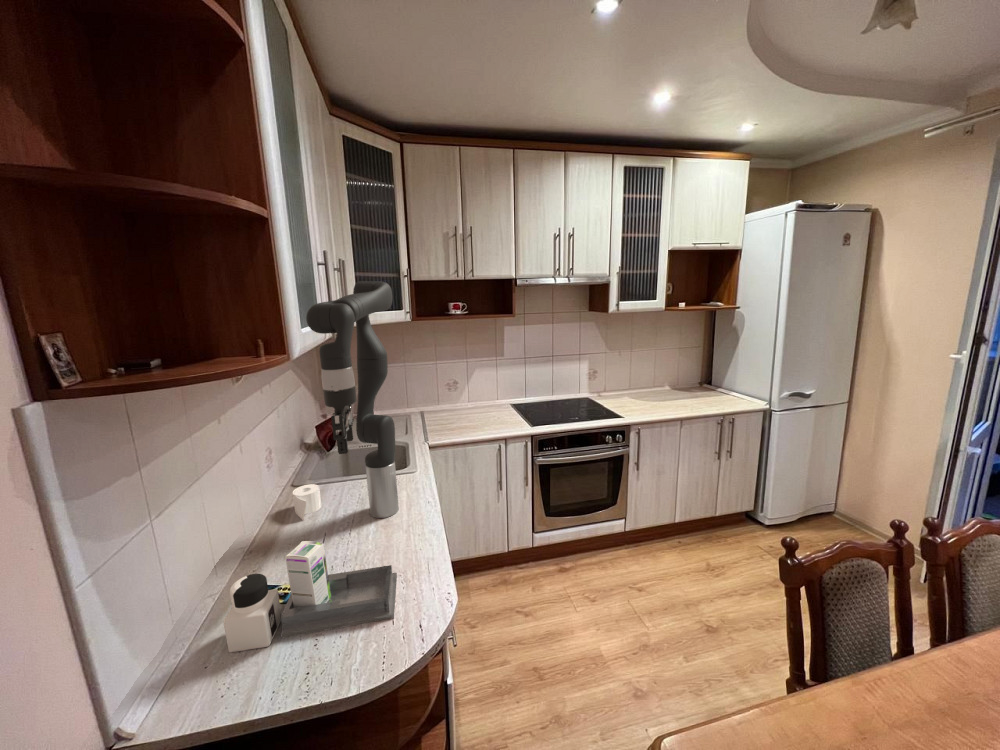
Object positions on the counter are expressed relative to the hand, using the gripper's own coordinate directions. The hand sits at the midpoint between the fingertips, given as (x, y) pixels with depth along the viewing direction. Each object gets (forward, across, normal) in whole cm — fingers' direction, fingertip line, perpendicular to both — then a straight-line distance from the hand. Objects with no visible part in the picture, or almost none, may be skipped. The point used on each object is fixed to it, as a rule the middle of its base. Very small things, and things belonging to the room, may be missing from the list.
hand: (346, 446), depth 103 cm
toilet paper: (+33, -31, -21) cm, 50 cm away
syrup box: (+32, +16, -8) cm, 36 cm away
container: (+32, +21, -18) cm, 43 cm away
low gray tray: (+32, +16, -1) cm, 36 cm away
